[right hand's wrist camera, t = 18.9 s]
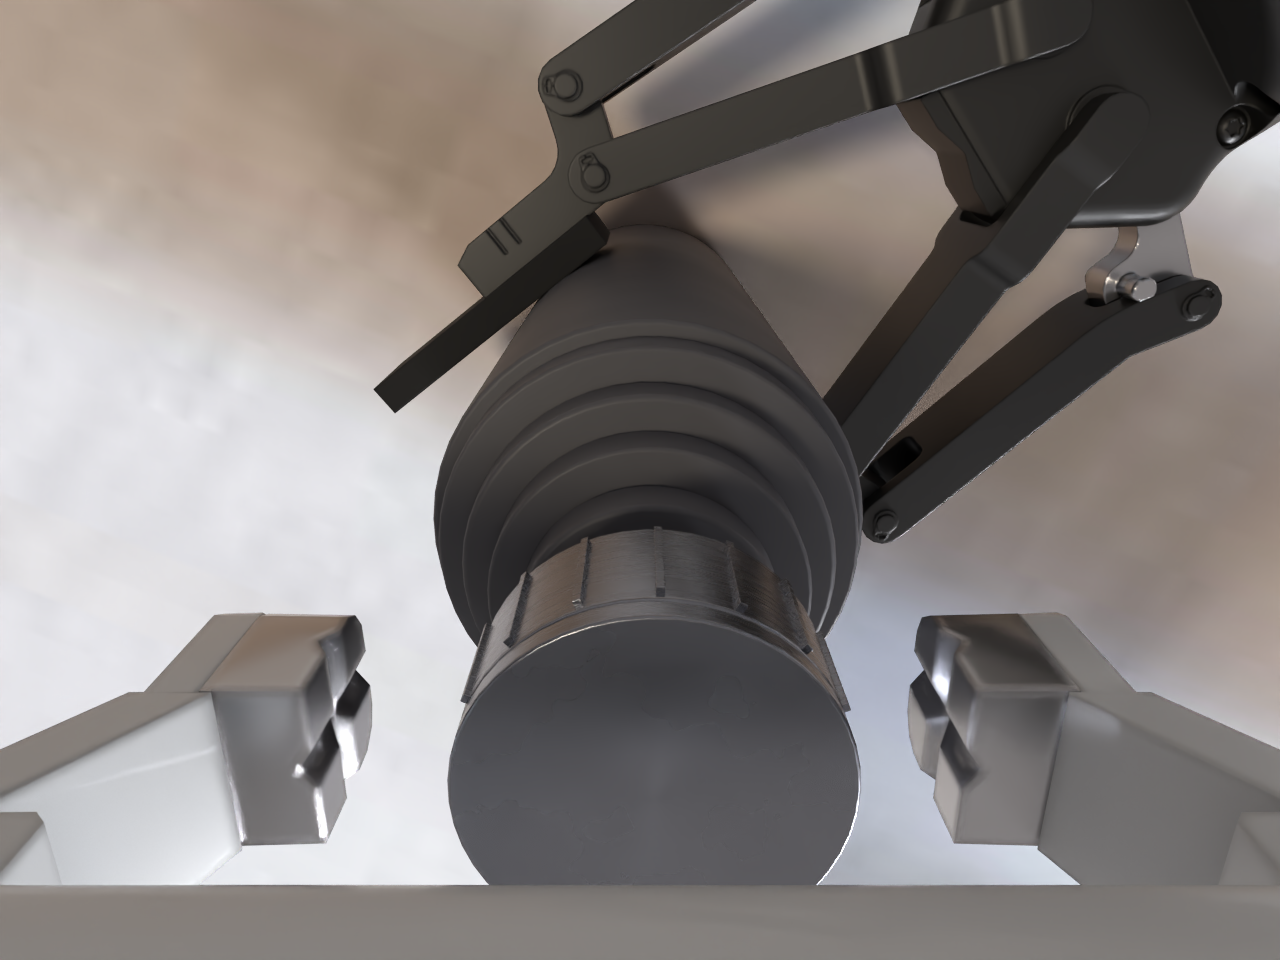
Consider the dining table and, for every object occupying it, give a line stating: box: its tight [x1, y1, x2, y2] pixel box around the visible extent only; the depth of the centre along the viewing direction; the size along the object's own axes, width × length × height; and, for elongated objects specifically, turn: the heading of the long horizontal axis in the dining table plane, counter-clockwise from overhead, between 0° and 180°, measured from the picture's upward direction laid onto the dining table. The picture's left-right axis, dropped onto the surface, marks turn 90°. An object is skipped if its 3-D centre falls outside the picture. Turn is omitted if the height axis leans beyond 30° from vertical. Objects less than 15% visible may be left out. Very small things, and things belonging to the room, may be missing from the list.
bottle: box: [434, 225, 863, 647], centre depth 18 cm, size 7×7×21 cm
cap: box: [447, 526, 861, 885], centre depth 9 cm, size 4×4×2 cm
